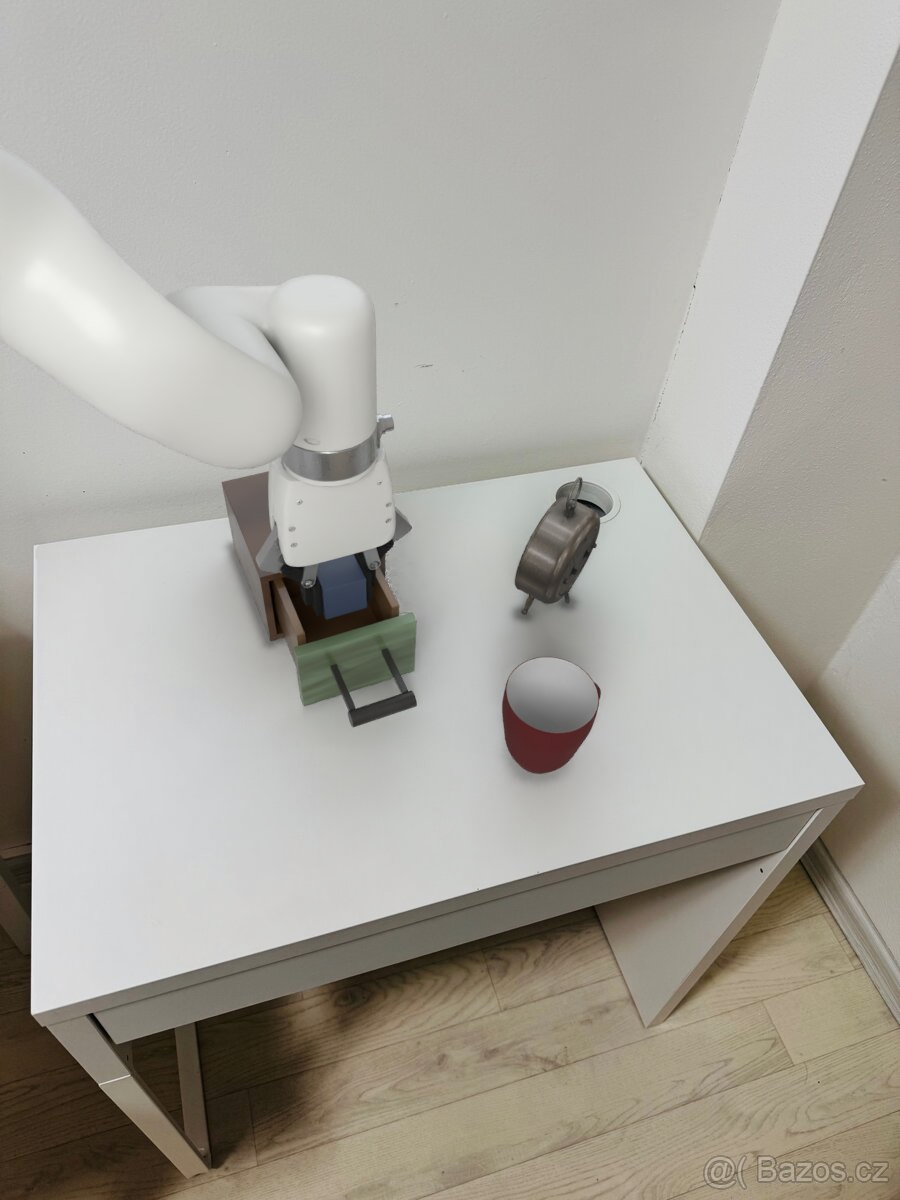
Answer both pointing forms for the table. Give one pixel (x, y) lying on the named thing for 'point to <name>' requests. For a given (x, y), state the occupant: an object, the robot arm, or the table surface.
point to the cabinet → (255, 540)
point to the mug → (548, 712)
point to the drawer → (348, 648)
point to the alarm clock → (557, 550)
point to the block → (342, 586)
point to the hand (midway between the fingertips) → (339, 596)
